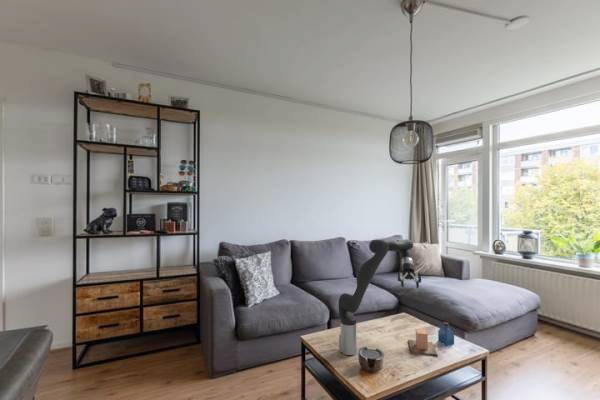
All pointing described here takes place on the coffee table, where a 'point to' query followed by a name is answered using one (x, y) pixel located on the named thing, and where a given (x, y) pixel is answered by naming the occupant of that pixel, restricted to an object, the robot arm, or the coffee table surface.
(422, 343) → the salmon orange block
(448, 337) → the perfume bottle
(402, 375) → the coffee table surface
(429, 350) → the walnut post board
